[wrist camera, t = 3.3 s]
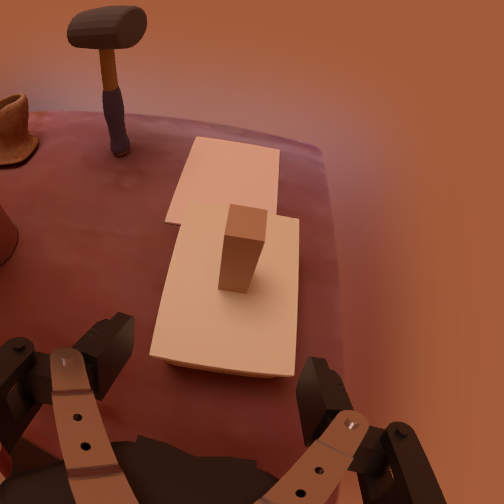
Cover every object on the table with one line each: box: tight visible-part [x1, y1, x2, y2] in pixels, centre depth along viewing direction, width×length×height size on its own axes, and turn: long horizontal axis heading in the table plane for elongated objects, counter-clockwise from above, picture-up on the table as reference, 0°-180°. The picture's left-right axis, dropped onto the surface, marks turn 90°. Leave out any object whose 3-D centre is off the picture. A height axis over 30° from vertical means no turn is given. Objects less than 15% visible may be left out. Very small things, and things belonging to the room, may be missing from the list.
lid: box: [149, 201, 299, 377], centre depth 27 cm, size 19×14×12 cm
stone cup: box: [0, 93, 39, 165], centre depth 40 cm, size 15×12×15 cm
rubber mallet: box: [67, 6, 147, 156], centre depth 37 cm, size 12×8×30 cm, turn 67°
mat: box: [165, 137, 280, 225], centre depth 49 cm, size 22×17×1 cm
